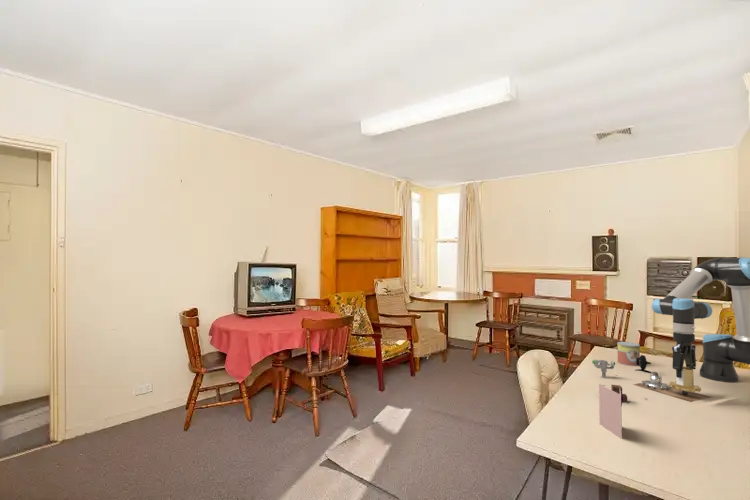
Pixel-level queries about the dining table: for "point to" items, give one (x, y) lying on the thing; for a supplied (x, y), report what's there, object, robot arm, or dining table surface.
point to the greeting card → (610, 410)
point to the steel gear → (656, 383)
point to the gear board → (677, 392)
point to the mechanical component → (603, 366)
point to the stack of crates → (617, 389)
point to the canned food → (628, 353)
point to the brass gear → (686, 381)
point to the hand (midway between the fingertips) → (684, 383)
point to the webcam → (642, 363)
